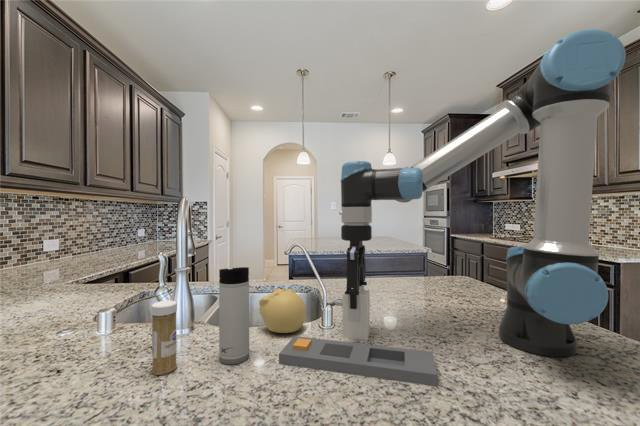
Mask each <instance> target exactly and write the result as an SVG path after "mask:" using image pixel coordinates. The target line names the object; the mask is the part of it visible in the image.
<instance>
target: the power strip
mask: <svg viewBox="0 0 640 426" xmlns="http://www.w3.org/2000/svg"><path fill="white" fill-rule="evenodd" d="M434 357H435V355H434V352H433V351H429V350H428V351H427V350H418V349H410V348H403V347H402V348H401V347H394V346H385V345H375V344H368V343H367V344H366V343H358V342H348V341H341V340H332V339H323V338H314V337H305V336H299V335H298V336H296V335H294V336H293V337H292V338H291V339H290V340H289V342H287V344H286V345H285V346H284V347H283V348H282V349H281V351H280V352H279V353H278V365H285V366H292V367H298V368H307V369H313V370H319V371H320V370H321V371H327V372H334V373H341V374H347V375H355V376H361V377H368V378H375V379H381V380H389V381H395V382H403V383H411V384H417V385H424V386H425V385H426V386H429V387H430V386H431V387H438V372H437V366H436V361H435V358H434Z"/></svg>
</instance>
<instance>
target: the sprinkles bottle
mask: <svg viewBox="0 0 640 426" xmlns="http://www.w3.org/2000/svg"><path fill="white" fill-rule="evenodd" d="M177 305H178V304H177V302H176V301H175V300H162V301H157V302H155V303H152V304H151V308H150V314H151V318H152V321H151V323H152V324H151V325H152V326H151V356H152V357H151V358H152V364H151V365H152V369H151V373H152V374H153V375H156V376H157V375H158V376H163V375H168V374H170V373H171V372H173V371H175V370H176V369H177V367H178V364H177V311H178V306H177Z"/></svg>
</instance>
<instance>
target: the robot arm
mask: <svg viewBox="0 0 640 426" xmlns="http://www.w3.org/2000/svg"><path fill="white" fill-rule="evenodd" d="M626 58H627V52H626V48H625V46H624V43H623V42H622V41H621V40H620V39H619V37H617V36H615V35H613V34H611V33H610V32H609V31H605V30H602V29H601V30H600V29H593V28H592V29H590V28H589V29H581V30H577V31H574V32H571V33H568V34H566V35H565V36H563V37H561V38H560V39H559V40H557V41H556V42H555V43H553V45H551V47H550V48H549V49H548V50H546V52H545V53H544V54H543V55H542V58H541V61H540V62H539V64H537V65H538V66H536V68H535V70H534V71H533V73H532V74H531V75H530V77H529V78H528V80H527V81H526V82H525V83H524V84H523V85H522V86H521V87H520V88H519V89H518V90H517V91H516V92H515V93H513V94H512V95H511V96H510V97H508V98H507V99H505V100H504V101H503V102H502V104H501V107H499V109H498V110H496V111H494V112H493V113H491V114H490V115H488V116H486V117H485V118H484V119H482V120H480V121H479V122H477V123H476V124H474V125H473V126H471V127H470V128H468V129H467V130H465V131H463V132H462V133H461V134H459V135H458V136H456V137H454V138H453V139H451V140H450V141H449V142H447V143H445V144H444V145H442V146H441V147H439V148H437V149H436V150H435V151H433V152H432V153H430V154H428V155H427V156H425V157H423V158H422V159H421V160H418V161H417V162H416V163H414V164H413V165H412V166H410V167H409V166H404V167H399V168H398V167H394V168H384V169H382V168H381V169H377V168H376V169H374V168H373V167H372V164H371V162H369V161H365V160H364V161H363V160H359V161H358V160H353V161H347V162H345V163H343V164H342V166H341V173H340V174H341V175H340V177H341V179H340V188H341V189H340V194H341V195H340V196H341V197H340V198H341V203H340V204H341V210H340V211H339V212H338V214H339V215H340V216H341V217H340V218H341V223H342V224H343V225H341V226H340V227H341V228H340V229H341V230H340V232H341V233H340V236H341V240H342V241H346V242H347V241H349V247H347V251H346V289H347V290H346V289H345V290H346V291H345V290H344V292H345V294H348V322H359V323H360V294H359V290H365V286H367V285H368V282H367V281H366V276H365V274H366V273H365V272H366V271H365V270H366V269H365V263H366V262H365V258H366V257H365V254H366V246H365V244H364V245H363V242H368V241H371V239H372V237H373V236H372V235H373V234H372V233H373V232H372V231H373V230H372V226H371V225H370V224H372V223H373V217H372V216H373V213H372V211H373V209H372V208H373V207H372V201H397V202H400V203H408V202H411V201H413V200H420V199H421V198H422V197H423V192H425V191H427V190H429V188H432V187H433V186H434V185H436V184H437V183H439V182H441V181H443V180H444V179H446V178H448V177H450V176H452V175H453V174H454V173H455V172H457V171H459V170H461V169H463V168H464V167H466V166H467V165H469V164H470V163H472V162H474V161H475V160H478V158H481V157H482V156H483V155H485V154H487V153H489V152H490V151H492V150H493V149H495V148H497V147H499V146H500V145H503V144H504V143H505V142H507V141H509V140H510V139H512V138H513V137H515V136H516V135H518V134H528V133H529V132H531V131H533V130H534V129H537V128H538V127H540V129H539V130H540V131H539V145H538V146H539V147H538V158H537V159H538V160H537V173H536V186H535V187H536V189H535V190H536V191H535V205H534V220H533V231H532V233H533V235H532V239H531V240H530V241H529V242H527V243H526V244H525V245H524V246H512V247H509V248H508V249H507V252H506V257H505V261H506V308H505V310H504V313H503V316H502V318H501V320H500V323H499V327H498V338H500V340H501V341H502V342H503V343H505V344H507V345H508V346H510V347H513V348H515V349H518V350H519V351H520V350H521V351H523V352H526V353H527V352H528V353H531V354H534V355H540V356H546V357H555V358H557V357H558V358H564V357H565V358H567V357H571V356H574V355H576V354H577V351H578V346H577V338H576V336H575V334H574V331H573V329H572V327H571V325H580V324H584V323H588V322H589V321H591V320H593V319H595V318H597V317H598V316H599V315H601V314H602V312H603V311H605V308H606V307H607V305H608V302H609V290H608V287H607V285H606V282H605V281H604V279H603V278H602V277H601V275H600V274H599V273H598V272H599V271H598V270H599V258H600V257H599V255H600V253H598V251H596V250H595V249H594V248H593V247H592V246H591V245H590V243H589V242H590V240H589V239H590V226H591V212H592V211H591V210H592V200H593V199H592V198H593V185H594V183H593V181H594V171H595V170H594V169H595V156H596V155H595V154H596V140H597V127H598V118H599V116H600V115H601V114H602V113H604V112H605V111H606V110H608V109H609V108H610V100H611V89H612V81H614V80H615V79H616V78H617V77H618V75H619V74H620V73H621V71H622V69H623V67H624V65H625V61H626Z"/></svg>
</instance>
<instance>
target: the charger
mask: <svg viewBox="0 0 640 426" xmlns="http://www.w3.org/2000/svg"><path fill="white" fill-rule="evenodd" d="M346 290H347V288H346V289H345V290H344V292H343V293H342V299H335V300H334V306H336V307H337V306H339V307H342V338H343V339H344V338H345V339H352V340H353V339H354V340H363V341H368V340H369V336H370V332H371V331H370V329H371V327H370V324H371V323H370V321H371V320H370V319H371V318H370V317H371V315H370V309H371V308H370V307H371V305H370V298H371V297H370V292H371V291H370V289H369V290H367V289H364V290H359V294H360V323H359V322H348V294H345V291H346Z"/></svg>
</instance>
